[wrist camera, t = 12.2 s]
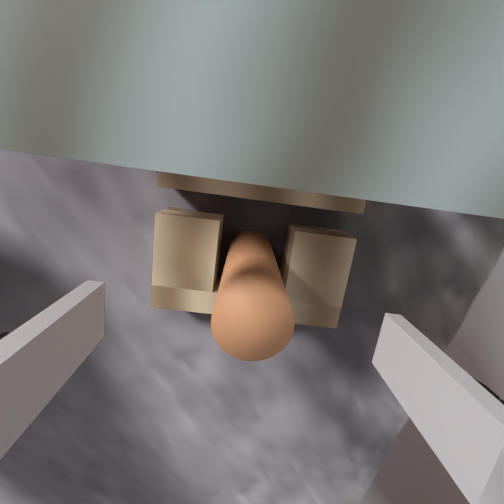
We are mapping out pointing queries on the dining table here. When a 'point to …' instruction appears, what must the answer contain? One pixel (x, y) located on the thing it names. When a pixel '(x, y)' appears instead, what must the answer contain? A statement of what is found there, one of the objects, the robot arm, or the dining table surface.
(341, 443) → the dining table surface
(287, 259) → the socket awning
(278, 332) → the peg
